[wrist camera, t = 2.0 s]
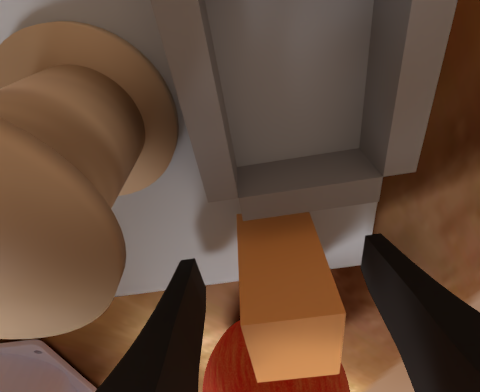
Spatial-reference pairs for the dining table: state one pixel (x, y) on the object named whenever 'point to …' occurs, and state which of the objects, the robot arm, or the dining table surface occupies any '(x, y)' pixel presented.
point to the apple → (243, 377)
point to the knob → (72, 169)
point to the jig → (267, 117)
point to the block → (288, 299)
